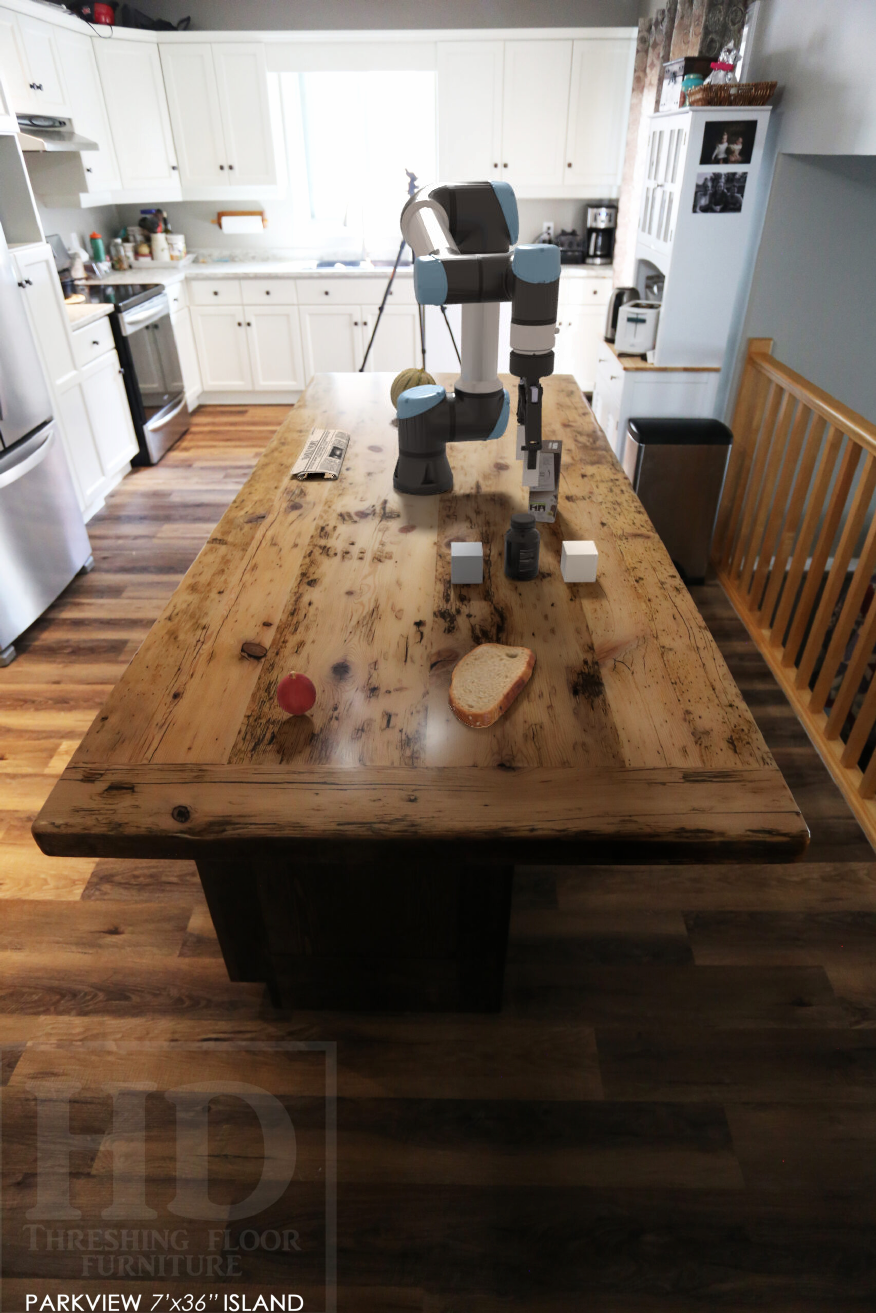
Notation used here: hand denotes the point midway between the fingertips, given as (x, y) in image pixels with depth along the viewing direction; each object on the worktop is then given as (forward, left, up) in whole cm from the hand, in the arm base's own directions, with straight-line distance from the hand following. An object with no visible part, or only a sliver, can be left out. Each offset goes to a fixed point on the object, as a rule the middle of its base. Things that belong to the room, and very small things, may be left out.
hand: (526, 472), depth 139 cm
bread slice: (+12, -36, -22) cm, 44 cm away
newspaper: (-78, +37, -22) cm, 89 cm away
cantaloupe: (-74, +80, -21) cm, 111 cm away
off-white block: (+10, +5, -21) cm, 24 cm away
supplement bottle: (0, 0, -21) cm, 21 cm away
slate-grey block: (-9, -6, -21) cm, 24 cm away
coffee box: (-8, +29, -21) cm, 37 cm away
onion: (-10, -57, -21) cm, 61 cm away
